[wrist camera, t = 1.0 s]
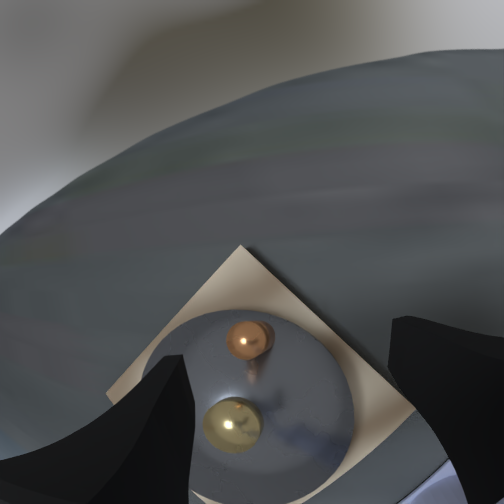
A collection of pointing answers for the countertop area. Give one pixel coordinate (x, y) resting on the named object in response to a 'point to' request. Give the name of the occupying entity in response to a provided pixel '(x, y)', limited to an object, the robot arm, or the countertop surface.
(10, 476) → the robot arm
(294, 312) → the wheel base
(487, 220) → the countertop surface
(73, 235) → the countertop surface
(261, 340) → the handwheel
